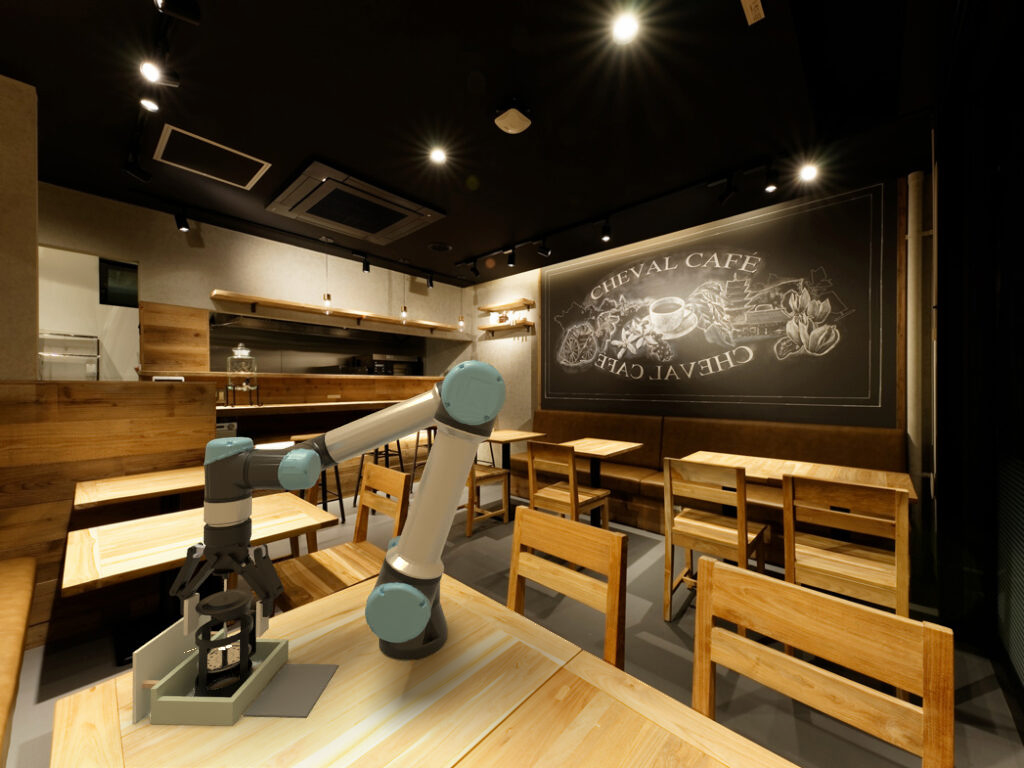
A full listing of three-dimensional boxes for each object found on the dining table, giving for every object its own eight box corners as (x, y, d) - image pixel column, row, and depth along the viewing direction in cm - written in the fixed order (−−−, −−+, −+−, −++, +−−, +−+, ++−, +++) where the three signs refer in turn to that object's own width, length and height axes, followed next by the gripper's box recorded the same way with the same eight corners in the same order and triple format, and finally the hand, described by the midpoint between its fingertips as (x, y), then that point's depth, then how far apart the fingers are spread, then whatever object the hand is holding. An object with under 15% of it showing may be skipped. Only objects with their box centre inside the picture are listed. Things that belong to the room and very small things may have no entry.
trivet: (338, 666, 84) (338, 664, 84) (306, 717, 71) (306, 716, 71) (285, 664, 84) (285, 663, 84) (243, 716, 71) (243, 714, 71)
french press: (219, 716, 71) (220, 584, 71) (175, 707, 73) (176, 578, 73) (272, 670, 83) (273, 556, 83) (233, 663, 85) (234, 551, 85)
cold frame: (288, 658, 86) (288, 601, 86) (232, 725, 70) (233, 655, 69) (207, 656, 87) (208, 599, 87) (132, 723, 70) (132, 652, 70)
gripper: (304, 515, 82) (302, 622, 82) (179, 512, 82) (177, 618, 82) (282, 528, 74) (280, 646, 74) (145, 525, 74) (143, 642, 74)
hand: (226, 632), depth 78 cm, fingers open, 13 cm apart
